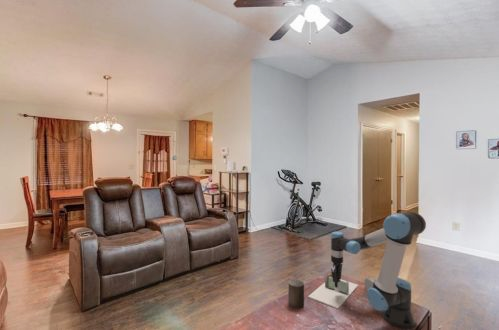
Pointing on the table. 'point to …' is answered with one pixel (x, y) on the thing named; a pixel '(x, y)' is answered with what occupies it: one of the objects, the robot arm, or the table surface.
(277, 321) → the table surface
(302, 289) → the pillar candle
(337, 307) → the board
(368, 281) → the game controller
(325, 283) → the fence fixed
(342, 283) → the fence gate
